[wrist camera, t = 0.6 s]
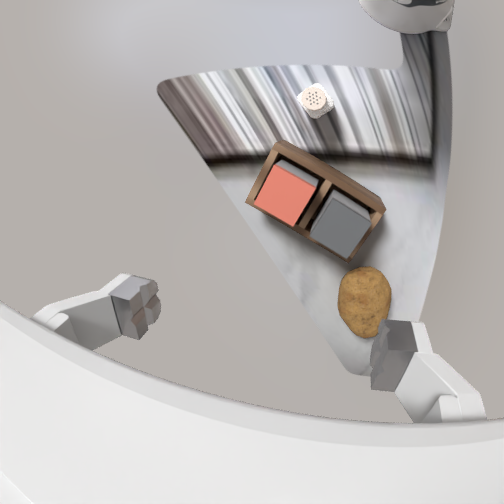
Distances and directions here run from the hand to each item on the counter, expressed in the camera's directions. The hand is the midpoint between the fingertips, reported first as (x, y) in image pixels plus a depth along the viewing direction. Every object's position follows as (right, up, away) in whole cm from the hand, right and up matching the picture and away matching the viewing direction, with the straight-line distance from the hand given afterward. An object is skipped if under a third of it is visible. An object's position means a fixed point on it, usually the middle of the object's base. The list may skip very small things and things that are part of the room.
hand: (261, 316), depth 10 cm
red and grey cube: (+5, +12, +33) cm, 35 cm away
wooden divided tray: (+10, +12, +37) cm, 40 cm away
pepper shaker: (+10, +25, +31) cm, 41 cm away
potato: (+20, -5, +42) cm, 47 cm away
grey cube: (+13, +7, +32) cm, 36 cm away
